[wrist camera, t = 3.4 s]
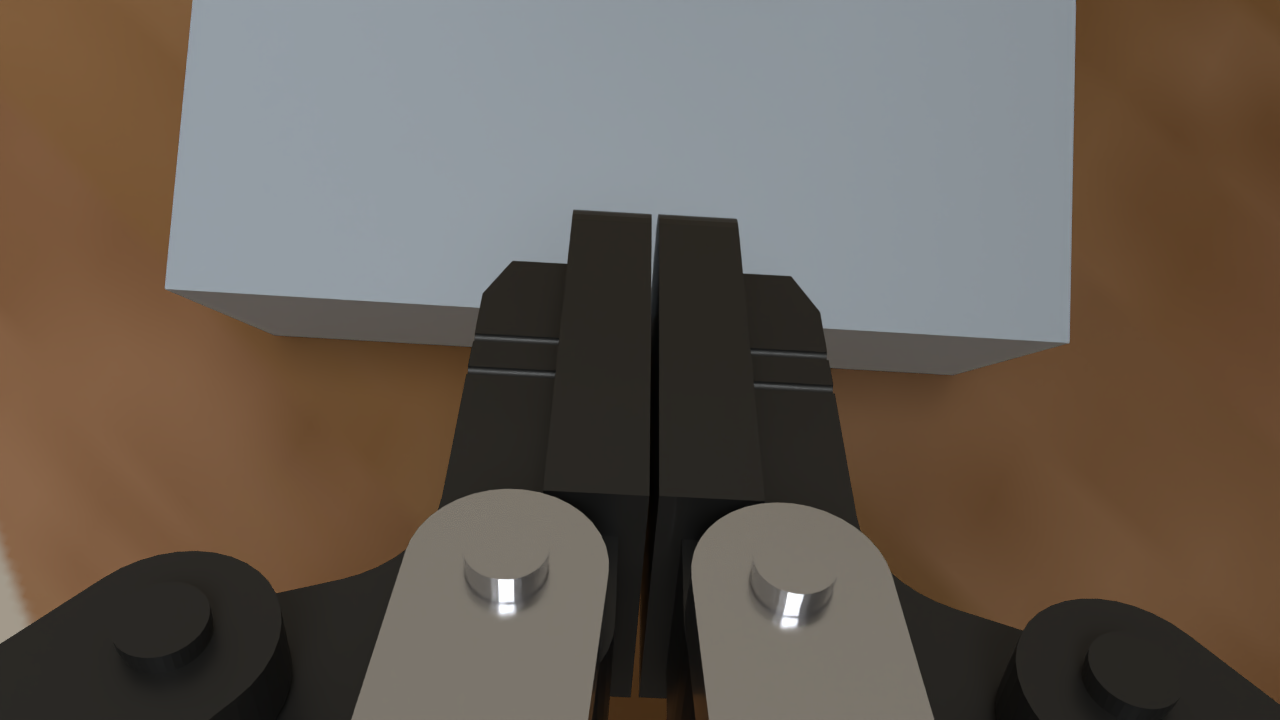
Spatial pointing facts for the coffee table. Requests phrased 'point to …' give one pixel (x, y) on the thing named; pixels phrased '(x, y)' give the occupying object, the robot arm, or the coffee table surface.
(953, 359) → the platform
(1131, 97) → the coffee table surface
